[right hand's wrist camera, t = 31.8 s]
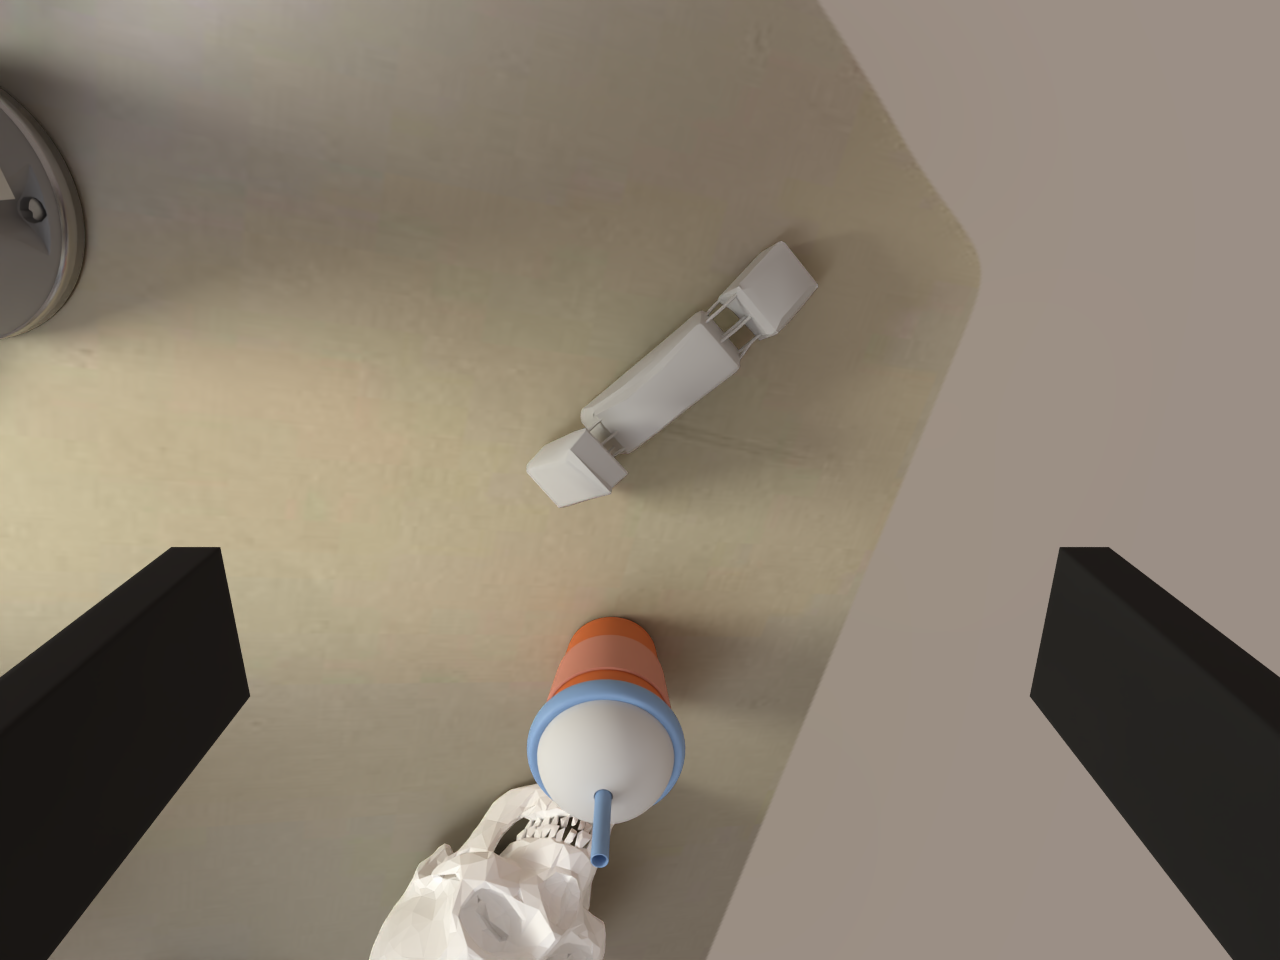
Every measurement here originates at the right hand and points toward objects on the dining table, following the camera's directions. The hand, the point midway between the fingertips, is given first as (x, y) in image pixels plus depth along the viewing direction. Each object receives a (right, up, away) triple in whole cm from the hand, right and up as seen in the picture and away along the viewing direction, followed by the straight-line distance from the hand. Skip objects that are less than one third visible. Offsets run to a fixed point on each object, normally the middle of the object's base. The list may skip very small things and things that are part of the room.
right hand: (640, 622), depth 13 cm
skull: (-10, -27, +49) cm, 56 cm away
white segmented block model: (+2, +9, +36) cm, 37 cm away
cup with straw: (-2, -10, +43) cm, 44 cm away
